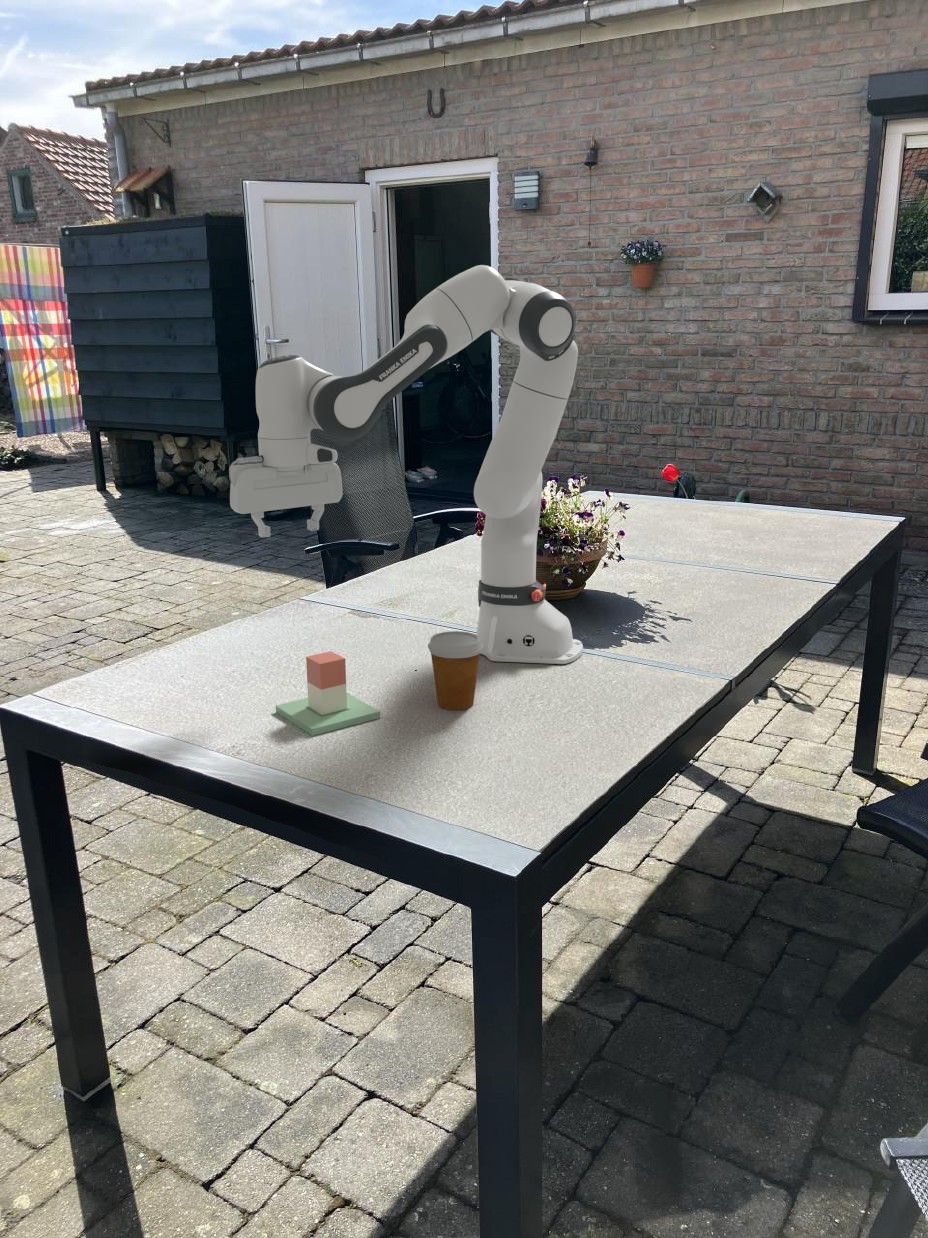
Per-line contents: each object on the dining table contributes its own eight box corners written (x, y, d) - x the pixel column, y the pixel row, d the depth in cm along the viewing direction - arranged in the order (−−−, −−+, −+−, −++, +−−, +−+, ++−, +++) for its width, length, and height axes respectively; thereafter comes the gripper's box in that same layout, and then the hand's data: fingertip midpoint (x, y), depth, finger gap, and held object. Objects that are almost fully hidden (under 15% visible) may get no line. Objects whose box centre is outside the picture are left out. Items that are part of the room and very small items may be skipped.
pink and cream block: (332, 700, 178) (331, 651, 175) (347, 708, 174) (345, 658, 172) (308, 706, 175) (306, 656, 173) (322, 715, 172) (320, 664, 169)
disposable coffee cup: (464, 717, 174) (464, 650, 171) (417, 706, 179) (417, 641, 175) (492, 700, 182) (493, 636, 178) (447, 690, 187) (447, 627, 183)
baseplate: (341, 695, 184) (341, 689, 183) (380, 718, 174) (380, 710, 173) (275, 712, 176) (275, 704, 176) (312, 736, 166) (312, 728, 166)
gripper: (236, 460, 167) (242, 543, 171) (345, 450, 179) (348, 528, 182) (220, 456, 172) (226, 537, 176) (327, 447, 183) (330, 523, 187)
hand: (289, 533), depth 179 cm, fingers open, 8 cm apart
